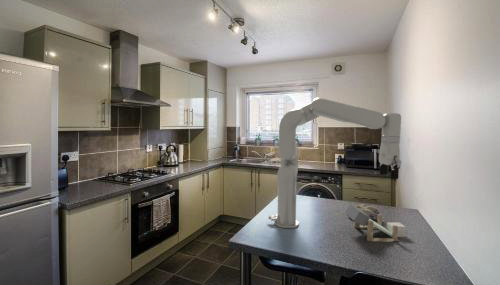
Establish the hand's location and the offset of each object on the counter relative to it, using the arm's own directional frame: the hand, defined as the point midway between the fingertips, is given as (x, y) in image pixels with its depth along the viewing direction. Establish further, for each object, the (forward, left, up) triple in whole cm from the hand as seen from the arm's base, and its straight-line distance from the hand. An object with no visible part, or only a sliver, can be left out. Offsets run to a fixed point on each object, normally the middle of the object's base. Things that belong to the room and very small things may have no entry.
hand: (388, 176), depth 118 cm
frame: (-5, 0, -28) cm, 28 cm away
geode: (-1, +21, -28) cm, 35 cm away
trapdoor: (-9, 0, -24) cm, 26 cm away
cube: (+2, 0, -25) cm, 25 cm away
